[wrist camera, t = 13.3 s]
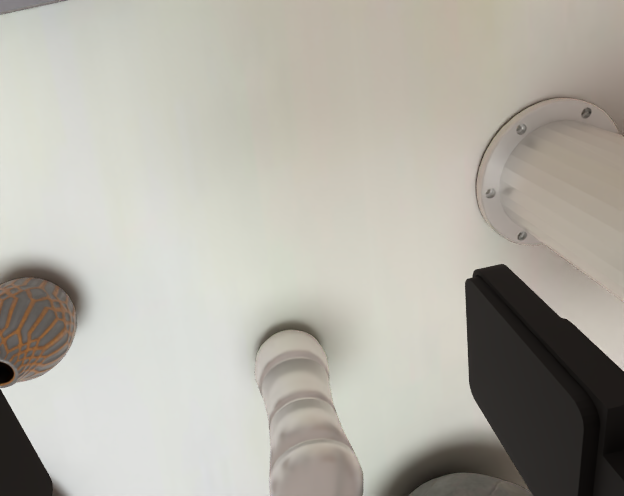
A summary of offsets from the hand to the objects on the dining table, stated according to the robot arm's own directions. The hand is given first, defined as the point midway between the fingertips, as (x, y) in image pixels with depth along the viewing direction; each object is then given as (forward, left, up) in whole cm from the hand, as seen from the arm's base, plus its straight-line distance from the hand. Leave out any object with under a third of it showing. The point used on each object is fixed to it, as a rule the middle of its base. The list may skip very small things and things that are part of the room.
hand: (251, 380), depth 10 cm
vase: (+18, +11, -30) cm, 37 cm away
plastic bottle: (0, +22, -30) cm, 38 cm away
